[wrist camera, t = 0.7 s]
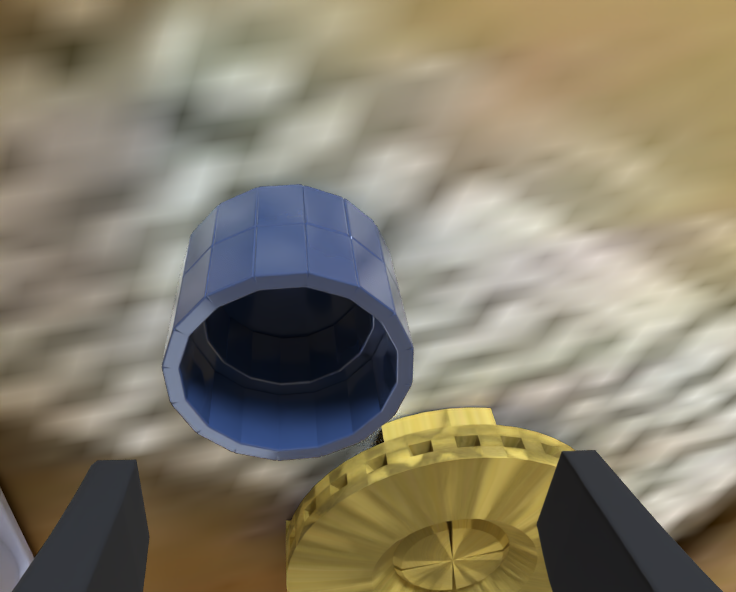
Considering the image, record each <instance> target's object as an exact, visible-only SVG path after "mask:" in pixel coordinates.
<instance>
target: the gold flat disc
mask: <svg viewBox="0 0 736 592" xmlns="http://www.w3.org/2000/svg"><path fill="white" fill-rule="evenodd" d="M382 432H383V438H384V442H383V443H381V444H379V445H377V446H374V447H372V448H370V449H367V450H365V451H363V452H361V453H360V454H358V455H356V456H354V457H352V458H351V459H349V460H347V461H345V462H344V463H342V464H341V465H340V466H338V467H337V468H335V469H334V470H333V471H331V472H330V473H328V474H327V475H326V476H325V477H324V478H323V479H322V480H321V481H319V482H318V483H317V484H316V485H315V486H314V487H313V488H312V489H311V491H310V492H309V493H308V494H307V495H306V496H305V498H304V499H303V500H302V502H301V503H300V505H299V507H298V508H297V510H296V511H295V513H294V516H293V518H292V520H291V521H287V520H286V586H287V591H288V592H553V591H552V588H551V585H550V582H549V578H548V574H547V570H546V566H545V562H544V557H543V553H542V548H541V543H540V539H539V534H538V529H537V521H538V518H539V515H540V512H541V509H542V507H543V504H544V501H545V498H546V495H547V492H548V489H549V486H550V483H551V481H552V478H553V475H554V472H555V469H556V466H557V463H558V460H559V458H560V455H561V452H562V451H575V450H574V449H572V448H571V447H570V446H568V445H566V444H564V443H562V442H560V441H558V440H556V439H554V438H552V437H549V436H546V435H544V434H541V433H538V432H535V431H530V430H526V429H522V428H517V427H510V426H502V425H496V423H495V420H494V417H493V414H492V411H491V408H453V409H443V410H436V411H430V412H424V413H420V414H416V415H412V416H407V417H403V418H400V419H397V420H394V421H391V422H389V423H386V424H384V425H383V426H382Z"/></svg>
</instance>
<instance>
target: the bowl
mask: <svg viewBox="0 0 736 592" xmlns="http://www.w3.org/2000/svg"><path fill="white" fill-rule="evenodd" d="M413 355H414V348H413V343H412V339H411V335H410V331H409V327H408V323H407V318H406V314H405V310H404V306H403V302H402V298H401V295H400V291H399V287H398V283H397V279H396V275H395V270H394V266H393V262H392V258H391V254H390V251H389V249H388V247H387V245H386V243H385V241H384V239H383V237H382V235H381V233H380V231H379V229H378V227H377V225H375V223H374V221H373V220H372V219H370V218H369V217H368V216H367V215H365V214H364V213H363V212H362V211H360V210H359V209H358V208H357V207H356V206H354V205H353V204H352V203H351V202H349V201H348V200H347V199H345V198H344V199H343V198H342V197H340V196H337V195H334V194H331V193H328V192H324V191H321V190H318V189H315V188H311V187H308V186H303V185H301V184H297V185H279V186H261V187H258V188H254V189H252V190H250V191H247V192H245V193H243V194H241V195H238V196H236V197H234V198H232V199H229V200H227V201H225V202H223V203H220V204H219V205H218V206H217V207H216V208H215V209H214V210H213V211H212V212H211V213H210V214H209V215H208V216H207V217H206V218H205V219H204V220H203V222H202V223H201V224H200V225H199V226H198V227H197V228H196V229H195V230H194V231H193V233H192V234H191V236H190V239H189V242H188V246H187V249H186V252H185V256H184V259H183V263H182V266H181V271H180V276H179V281H178V286H177V290H176V295H175V300H174V305H173V311H172V315H171V320H170V325H169V330H168V335H167V340H166V345H165V350H164V355H163V360H162V371H163V375H164V379H165V384H166V388H167V392H168V396H169V400H170V402H171V404H172V406H173V407H174V408H175V409H176V410H177V412H178V413H179V414H180V415H181V416H182V417H183V419H184V420H185V421H186V422H187V423H188V424H189V425H190V427H191V428H192V429H193V430H194V431H195V432H197V434H199V435H201V436H203V437H204V438H206V439H208V440H210V441H212V442H214V443H216V444H218V445H220V446H222V447H223V448H225V449H227V450H229V451H231V452H234V453H237V454H243V455H248V456H253V457H259V458H264V459H270V460H275V461H276V460H278V461H281V460H293V459H305V458H316V457H321V456H326V455H328V454H331V453H334V452H336V451H339V450H342V449H344V448H347V447H350V446H352V445H355V444H358V443H360V442H361V441H364V440H365V439H366V438H367V437H369V436H370V435H371V434H373V433H374V432H375V431H376V430H378V429H379V428H380V427H381V426H383V425H384V424H385V423H386V422H388V421H389V420H390V419H392V418H393V416H394V415H395V414H396V412H397V410H398V408H399V407H400V405H401V403H402V401H403V399H404V398H405V396H406V394H407V392H408V391H409V389H410V387H411V385H412V382H413Z"/></svg>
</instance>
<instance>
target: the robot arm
mask: <svg viewBox="0 0 736 592" xmlns="http://www.w3.org/2000/svg"><path fill="white" fill-rule="evenodd" d="M537 529H538V534H539V539H540V543H541V548H542V553H543V557H544V562H545V566H546V570H547V574H548V578H549V582H550V585H551V588H552V591H553V592H723V591H722V590H721V589H720V588H719V587H718V586H717V585H716V584H715V583H714V582H713V581H712V580H711V579H710V578H709V577H708V576H707V575H706V574H705V573H704V572H703V571H702V570H701V569H700V568H699V567H698V566H697V565H696V564H695V562H694V561H693V560H692V559H691V558H690V557H689V556H688V555H687V554H686V553H685V552H684V550H683V549H682V548H681V547H680V546H679V545H678V544H677V543H676V542H675V541H674V540H673V539H672V537H671V536H670V535H669V534H668V533H667V532H666V531H665V530H664V529H663V528H662V526H661V525H660V524H659V523H658V522H657V521H656V520H655V519H654V517H653V516H652V515H651V514H650V513H649V512H648V511H647V509H646V508H645V507H644V506H643V505H642V504H641V503H640V501H639V500H638V499H637V498H636V497H635V496H634V494H633V493H632V492H631V491H630V490H629V489H628V487H627V486H626V485H625V484H624V483H623V482H622V481H621V479H620V478H619V477H618V476H617V475H616V474H615V472H614V471H613V470H612V469H611V468H610V467H609V465H608V464H607V463H606V462H605V461H604V460H603V459H602V457H601V456H600V455H599V454H598V453H597V452H596V451H595V450H584V451H562V452H561V455H560V458H559V460H558V463H557V466H556V469H555V472H554V475H553V478H552V481H551V483H550V486H549V489H548V492H547V495H546V498H545V501H544V504H543V507H542V509H541V512H540V515H539V518H538V521H537ZM148 545H149V531H148V526H147V520H146V514H145V508H144V502H143V496H142V490H141V485H140V479H139V473H138V467H137V461H136V460H98V461H96V462H95V463H94V464H92V465H91V467H90V469H89V470H88V472H87V474H86V476H85V478H84V480H83V481H82V483H81V485H80V487H79V488H78V490H77V492H76V494H75V495H74V497H73V499H72V500H71V502H70V504H69V505H68V507H67V509H66V510H65V512H64V514H63V515H62V517H61V518H60V520H59V522H58V523H57V525H56V526H55V528H54V529H53V531H52V533H51V534H50V536H49V537H48V539H47V540H46V542H45V543H44V545H43V546H42V548H41V549H40V551H39V552H38V554H37V555H36V557H35V558H34V556H33V554H32V552H31V550H30V548H29V546H28V544H27V542H26V540H25V538H24V536H23V534H22V531H21V529H20V527H19V525H18V523H17V521H16V519H15V517H14V515H13V513H12V511H11V509H10V507H9V505H8V502H7V500H6V498H5V496H4V494H3V492H2V490H1V488H0V592H143V586H144V578H145V571H146V562H147V553H148Z"/></svg>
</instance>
